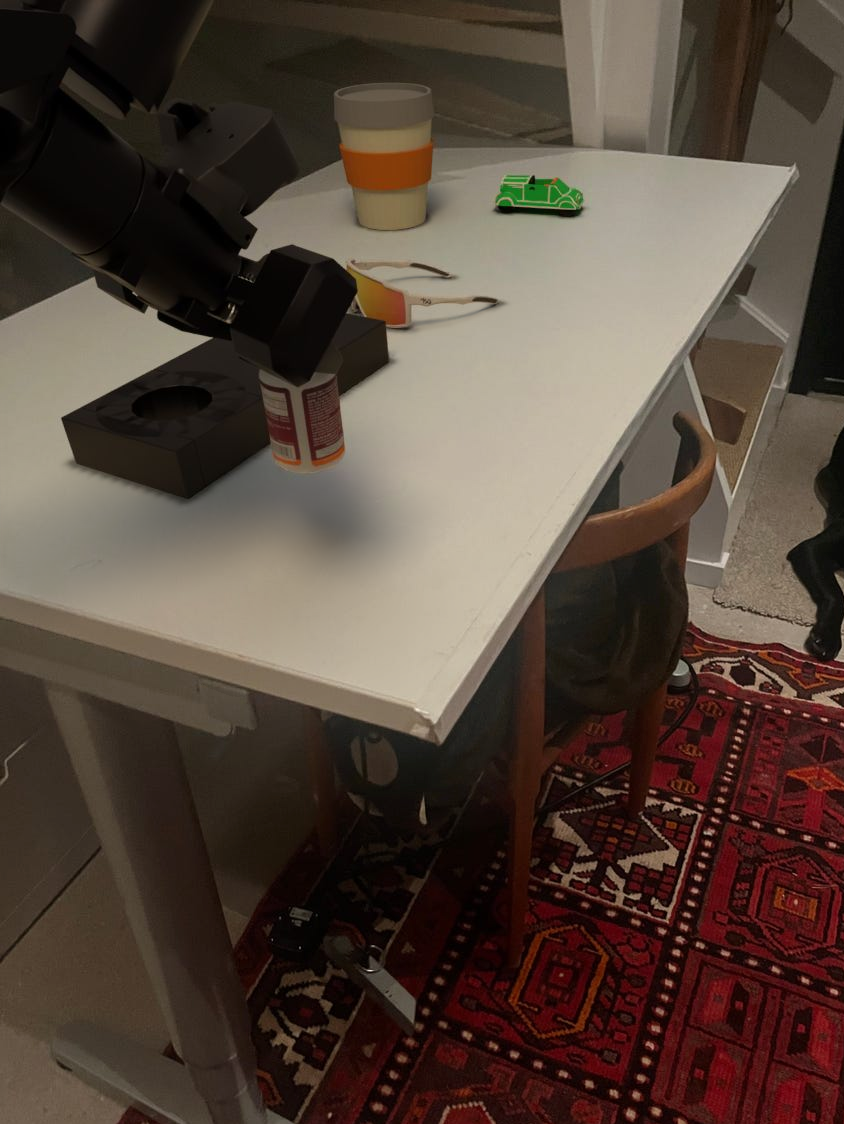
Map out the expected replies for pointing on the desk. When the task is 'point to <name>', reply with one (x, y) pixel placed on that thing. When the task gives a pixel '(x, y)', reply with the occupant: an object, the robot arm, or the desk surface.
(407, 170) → the reusable coffee cup
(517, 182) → the toy car
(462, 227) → the desk surface
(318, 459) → the pill bottle
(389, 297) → the sunglasses
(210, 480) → the base
